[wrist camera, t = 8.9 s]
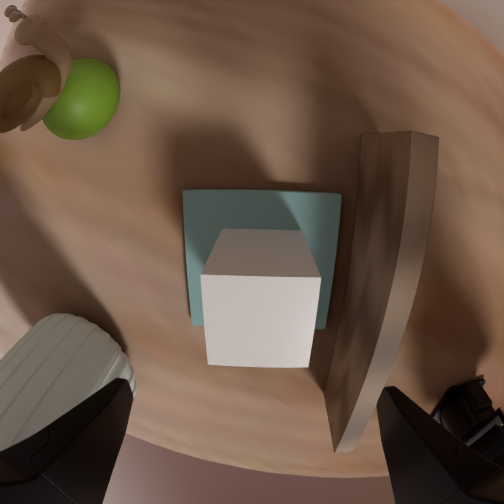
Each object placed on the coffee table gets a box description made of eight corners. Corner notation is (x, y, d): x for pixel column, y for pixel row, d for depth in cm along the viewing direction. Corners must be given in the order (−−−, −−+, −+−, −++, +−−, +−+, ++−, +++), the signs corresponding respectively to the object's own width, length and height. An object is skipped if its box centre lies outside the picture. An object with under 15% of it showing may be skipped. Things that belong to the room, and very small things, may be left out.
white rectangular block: (296, 299, 20) (308, 367, 14) (224, 297, 20) (207, 364, 14) (301, 230, 18) (321, 277, 12) (222, 228, 19) (199, 274, 12)
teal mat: (323, 324, 22) (325, 329, 21) (193, 321, 22) (192, 325, 21) (339, 193, 18) (341, 194, 18) (185, 189, 18) (182, 190, 18)
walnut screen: (338, 392, 24) (352, 451, 18) (323, 393, 24) (334, 453, 18) (381, 137, 17) (438, 136, 10) (360, 134, 17) (411, 130, 10)
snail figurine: (159, 84, 16) (36, 29, 5) (99, 154, 18) (-39, 181, 6) (113, 44, 15) (-3, -11, 3) (60, 111, 16) (-67, 113, 5)
